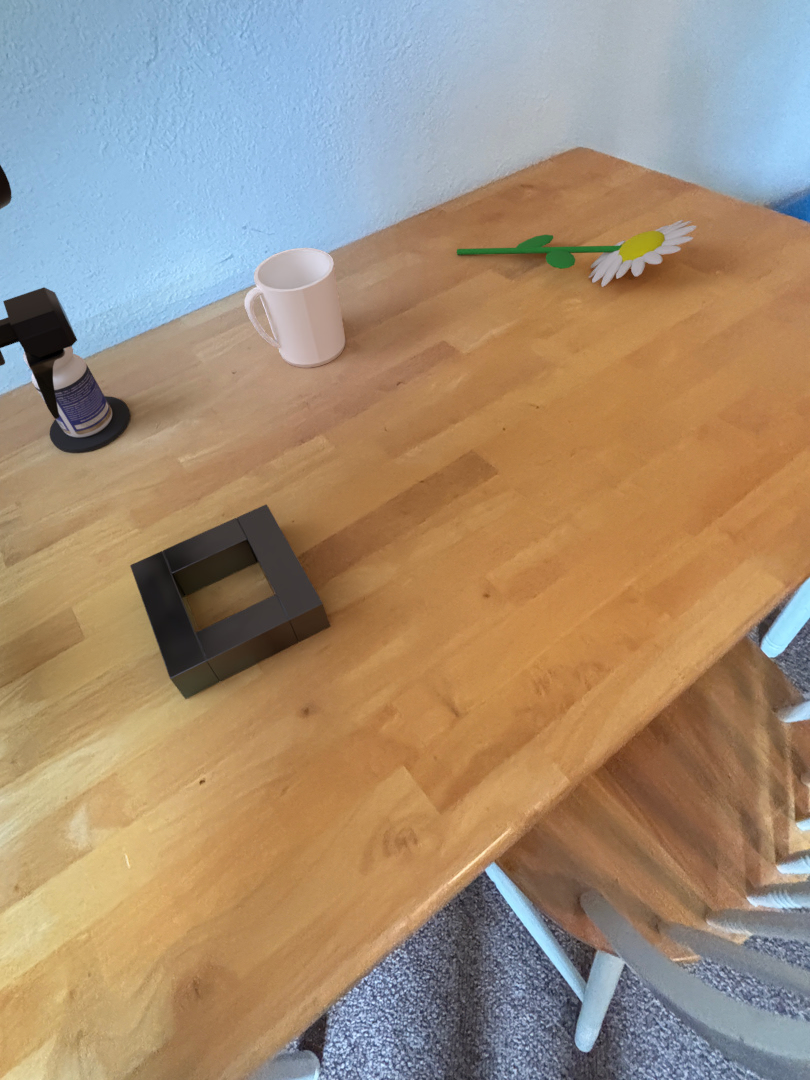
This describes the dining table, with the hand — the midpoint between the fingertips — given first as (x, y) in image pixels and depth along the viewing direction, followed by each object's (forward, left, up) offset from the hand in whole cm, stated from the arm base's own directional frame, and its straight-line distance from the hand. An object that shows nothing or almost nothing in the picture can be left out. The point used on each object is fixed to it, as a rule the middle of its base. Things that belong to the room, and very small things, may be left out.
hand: (4, 436), depth 62 cm
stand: (+11, -19, -12) cm, 25 cm away
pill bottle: (+5, +14, -11) cm, 18 cm away
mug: (+31, +12, -12) cm, 36 cm away
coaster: (+5, +14, -12) cm, 19 cm away
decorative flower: (+66, +8, -12) cm, 68 cm away
